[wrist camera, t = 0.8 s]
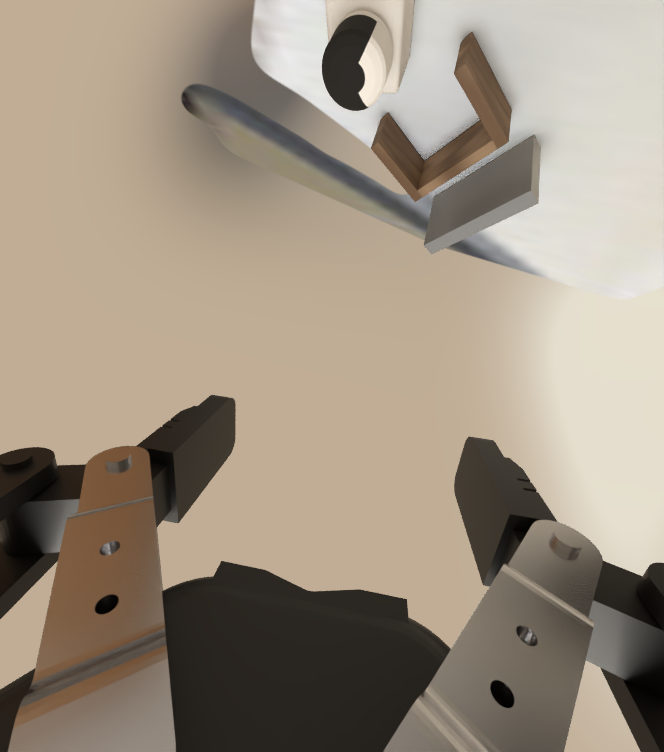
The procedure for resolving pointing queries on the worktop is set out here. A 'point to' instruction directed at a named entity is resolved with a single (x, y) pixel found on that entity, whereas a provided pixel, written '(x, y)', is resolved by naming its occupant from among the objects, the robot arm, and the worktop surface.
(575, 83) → the worktop surface
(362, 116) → the worktop surface
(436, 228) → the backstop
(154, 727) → the robot arm
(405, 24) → the medicine bottle
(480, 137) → the caddy
